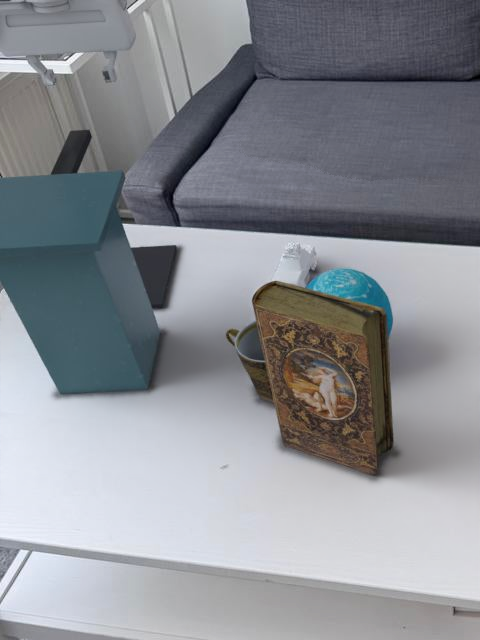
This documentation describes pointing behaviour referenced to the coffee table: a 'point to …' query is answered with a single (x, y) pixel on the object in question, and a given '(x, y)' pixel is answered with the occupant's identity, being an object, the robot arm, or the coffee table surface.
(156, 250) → the mat
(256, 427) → the coffee table surface
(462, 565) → the coffee table surface
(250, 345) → the ceramic cup
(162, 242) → the coffee table surface
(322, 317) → the book
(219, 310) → the coffee table surface
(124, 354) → the bin
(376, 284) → the decorative orb
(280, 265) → the toy car
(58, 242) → the lid
